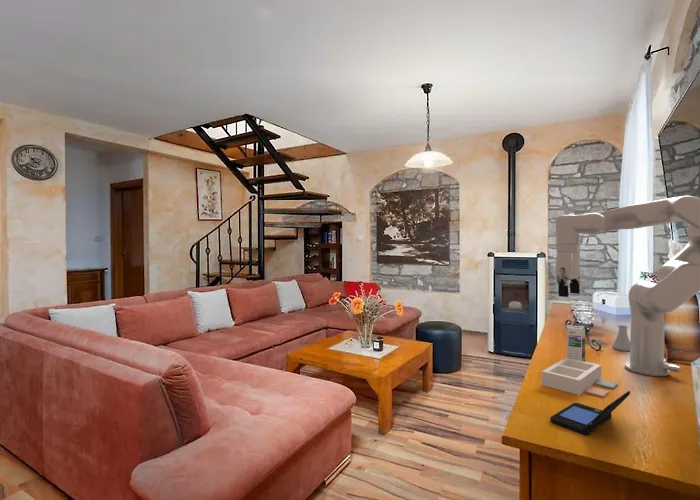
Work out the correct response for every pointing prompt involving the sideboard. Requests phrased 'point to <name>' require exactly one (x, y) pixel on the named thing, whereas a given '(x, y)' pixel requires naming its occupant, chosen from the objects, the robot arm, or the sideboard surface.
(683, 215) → the robot arm
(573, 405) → the game console
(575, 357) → the syrup box
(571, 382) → the socket block
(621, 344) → the flask
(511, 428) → the sideboard surface
